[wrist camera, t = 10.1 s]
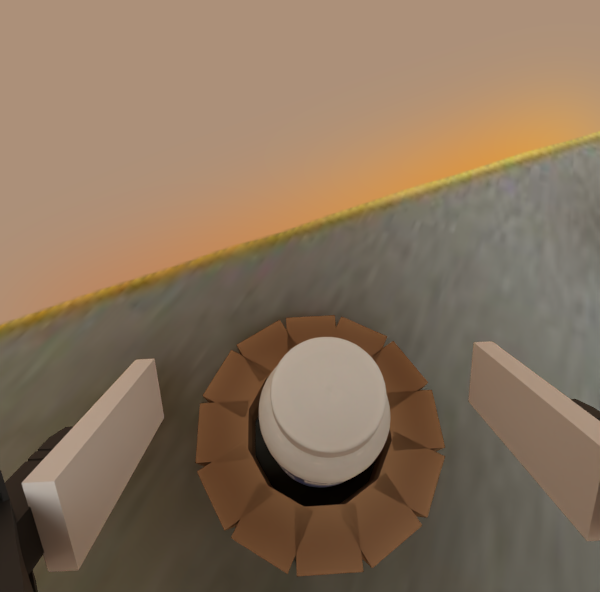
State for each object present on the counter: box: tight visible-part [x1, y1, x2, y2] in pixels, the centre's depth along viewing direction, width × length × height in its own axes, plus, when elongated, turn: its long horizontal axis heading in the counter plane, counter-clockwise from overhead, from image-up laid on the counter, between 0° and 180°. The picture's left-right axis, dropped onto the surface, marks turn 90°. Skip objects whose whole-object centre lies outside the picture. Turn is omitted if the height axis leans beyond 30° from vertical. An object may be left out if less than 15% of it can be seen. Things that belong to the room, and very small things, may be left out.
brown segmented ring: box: [195, 315, 445, 576], centre depth 20 cm, size 12×12×3 cm
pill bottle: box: [259, 337, 390, 488], centre depth 17 cm, size 5×5×10 cm
